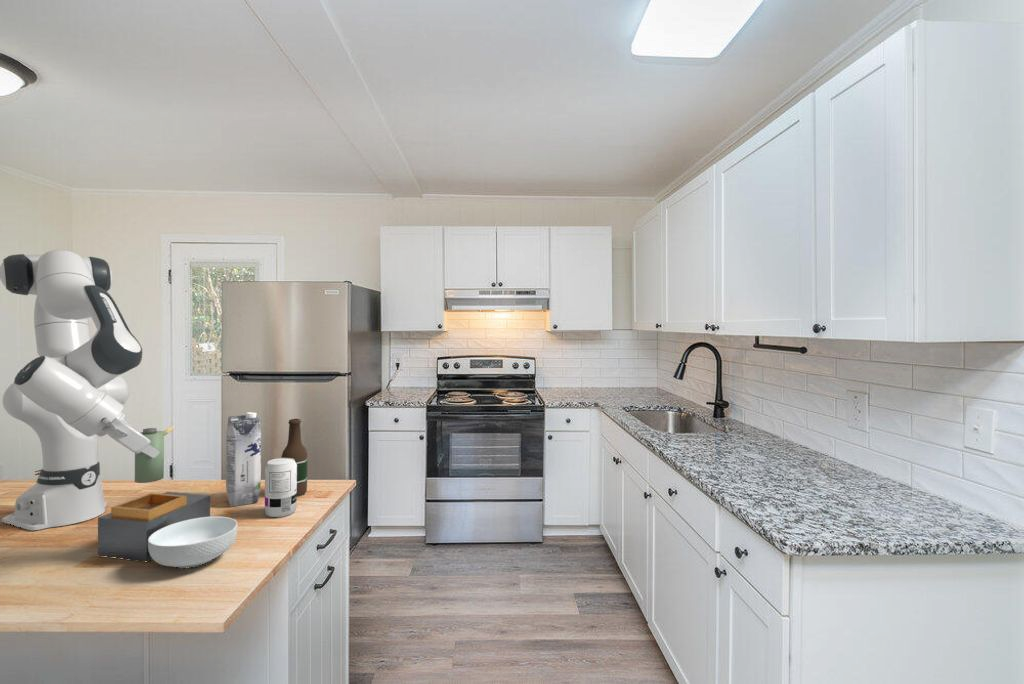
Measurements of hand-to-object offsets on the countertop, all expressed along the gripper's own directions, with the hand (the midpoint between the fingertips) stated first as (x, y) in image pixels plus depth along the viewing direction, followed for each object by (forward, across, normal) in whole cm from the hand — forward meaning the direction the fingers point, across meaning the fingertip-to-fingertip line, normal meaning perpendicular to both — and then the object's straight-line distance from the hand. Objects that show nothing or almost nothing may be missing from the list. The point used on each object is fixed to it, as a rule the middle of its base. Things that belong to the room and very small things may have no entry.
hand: (152, 452), depth 113 cm
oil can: (+5, 0, +4) cm, 6 cm away
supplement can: (+38, 0, -5) cm, 38 cm away
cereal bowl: (+20, -14, +13) cm, 28 cm away
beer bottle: (+44, +13, -12) cm, 48 cm away
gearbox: (+17, +3, +16) cm, 23 cm away
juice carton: (+35, +18, -2) cm, 39 cm away
